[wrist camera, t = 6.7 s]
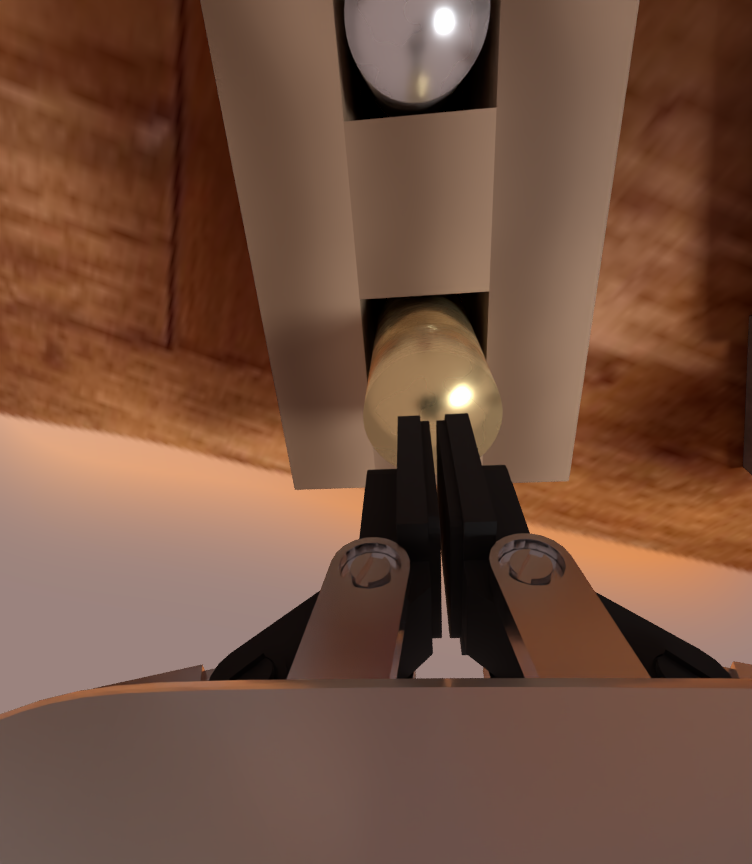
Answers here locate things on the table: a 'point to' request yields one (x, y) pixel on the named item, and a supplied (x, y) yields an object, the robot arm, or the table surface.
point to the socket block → (424, 213)
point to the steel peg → (415, 49)
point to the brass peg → (428, 373)
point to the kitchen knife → (748, 407)
